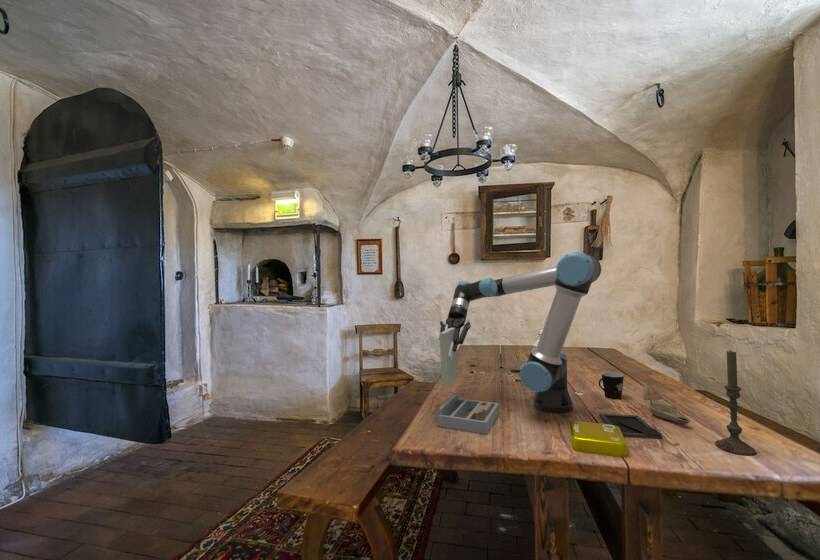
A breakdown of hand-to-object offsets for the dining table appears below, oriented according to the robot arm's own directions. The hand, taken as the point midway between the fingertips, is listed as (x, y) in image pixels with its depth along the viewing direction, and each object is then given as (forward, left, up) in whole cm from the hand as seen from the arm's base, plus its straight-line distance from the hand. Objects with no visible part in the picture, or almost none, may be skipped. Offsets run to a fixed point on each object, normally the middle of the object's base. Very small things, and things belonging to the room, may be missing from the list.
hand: (446, 357), depth 136 cm
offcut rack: (-8, -3, -24) cm, 25 cm away
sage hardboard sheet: (0, -3, -10) cm, 10 cm away
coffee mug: (-58, -51, -24) cm, 80 cm away
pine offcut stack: (-13, -3, -24) cm, 27 cm away
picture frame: (-61, -17, -25) cm, 68 cm away
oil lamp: (-75, -32, -24) cm, 84 cm away
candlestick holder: (-88, -10, -24) cm, 92 cm away
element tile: (-50, +1, -24) cm, 56 cm away
